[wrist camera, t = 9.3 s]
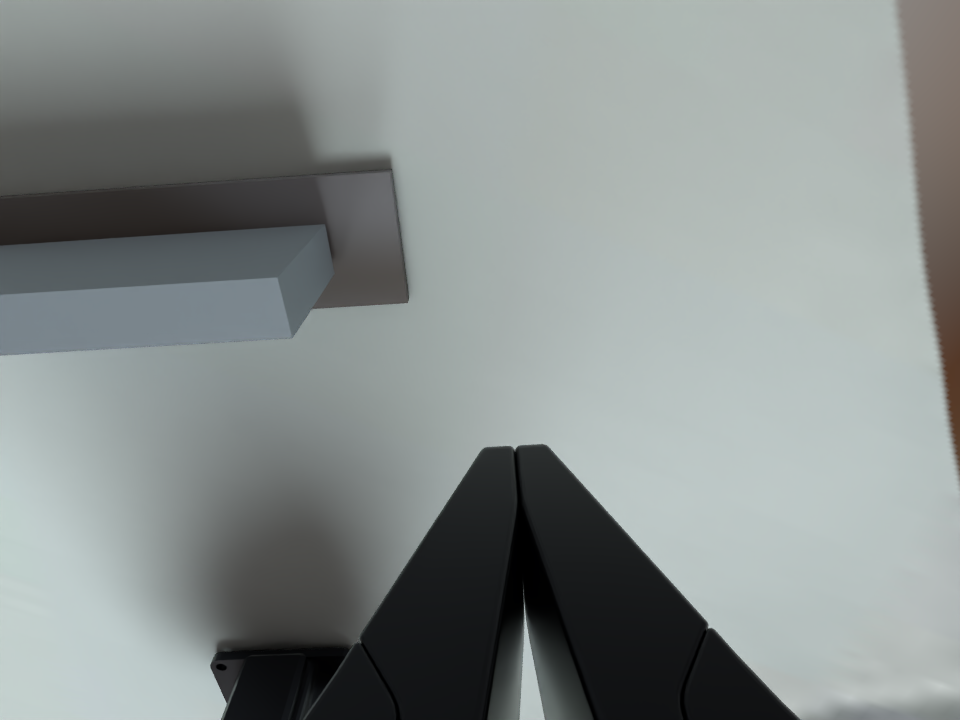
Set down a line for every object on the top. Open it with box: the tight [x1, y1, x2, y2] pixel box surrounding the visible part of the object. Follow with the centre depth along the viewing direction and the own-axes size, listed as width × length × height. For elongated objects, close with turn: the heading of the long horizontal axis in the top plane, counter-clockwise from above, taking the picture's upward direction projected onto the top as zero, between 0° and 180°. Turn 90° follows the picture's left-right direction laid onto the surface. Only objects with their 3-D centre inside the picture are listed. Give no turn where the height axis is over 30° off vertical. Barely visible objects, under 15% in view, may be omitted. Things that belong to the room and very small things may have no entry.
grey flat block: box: [0, 224, 335, 355], centre depth 15 cm, size 2×12×4 cm, turn 94°
